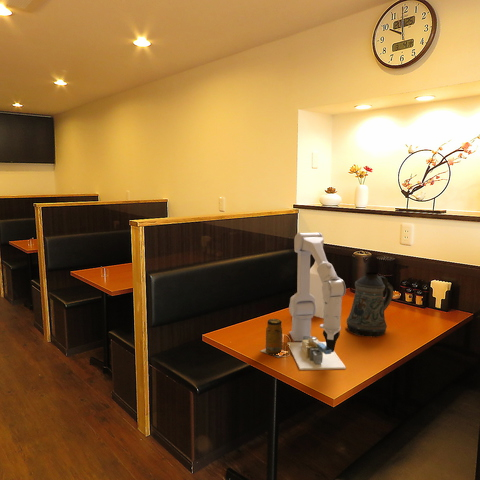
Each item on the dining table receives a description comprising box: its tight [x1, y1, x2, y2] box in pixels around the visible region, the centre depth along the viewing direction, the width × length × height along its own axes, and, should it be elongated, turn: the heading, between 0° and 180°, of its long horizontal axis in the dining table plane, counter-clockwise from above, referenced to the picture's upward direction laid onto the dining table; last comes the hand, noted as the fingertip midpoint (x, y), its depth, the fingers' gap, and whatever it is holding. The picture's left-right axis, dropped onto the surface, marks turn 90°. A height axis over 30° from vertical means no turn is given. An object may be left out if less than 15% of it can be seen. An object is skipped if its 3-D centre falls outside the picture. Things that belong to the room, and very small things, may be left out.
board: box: [287, 341, 347, 371], centre depth 151 cm, size 22×16×1 cm
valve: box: [301, 336, 323, 365], centre depth 150 cm, size 17×6×5 cm, turn 5°
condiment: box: [260, 318, 283, 358], centre depth 153 cm, size 7×8×12 cm
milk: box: [310, 260, 329, 319], centre depth 197 cm, size 12×12×26 cm
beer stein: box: [346, 272, 394, 338], centre depth 176 cm, size 16×19×25 cm
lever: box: [308, 335, 331, 354], centre depth 145 cm, size 13×3×1 cm, turn 19°
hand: (330, 351), depth 143 cm, fingers closed, pressing on lever
